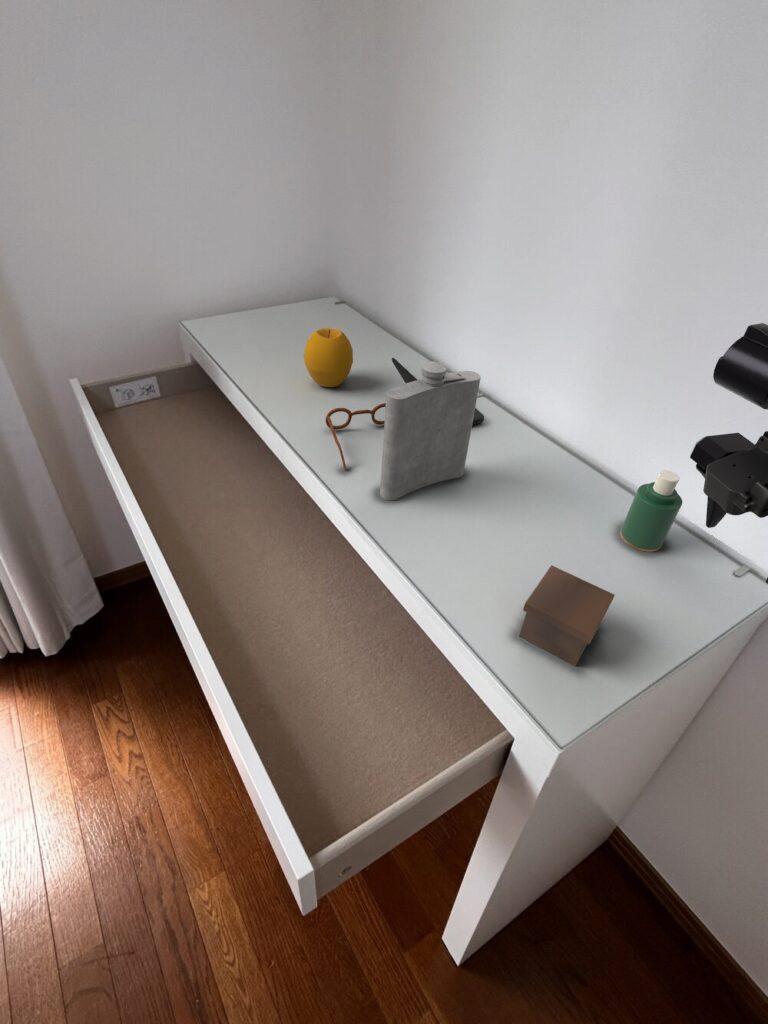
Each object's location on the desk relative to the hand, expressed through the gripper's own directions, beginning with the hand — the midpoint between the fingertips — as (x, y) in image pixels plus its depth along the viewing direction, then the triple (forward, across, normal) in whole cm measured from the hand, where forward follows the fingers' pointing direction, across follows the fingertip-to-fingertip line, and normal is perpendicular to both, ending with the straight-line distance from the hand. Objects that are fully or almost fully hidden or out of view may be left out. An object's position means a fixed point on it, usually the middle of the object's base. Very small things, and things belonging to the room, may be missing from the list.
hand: (738, 553), depth 63 cm
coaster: (+13, -16, +4) cm, 21 cm away
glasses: (+13, -48, -30) cm, 58 cm away
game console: (+13, -58, -14) cm, 61 cm away
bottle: (+13, -16, +4) cm, 21 cm away
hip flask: (+13, -36, -24) cm, 45 cm away
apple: (+13, -72, -32) cm, 80 cm away
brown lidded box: (+13, -3, -17) cm, 22 cm away
